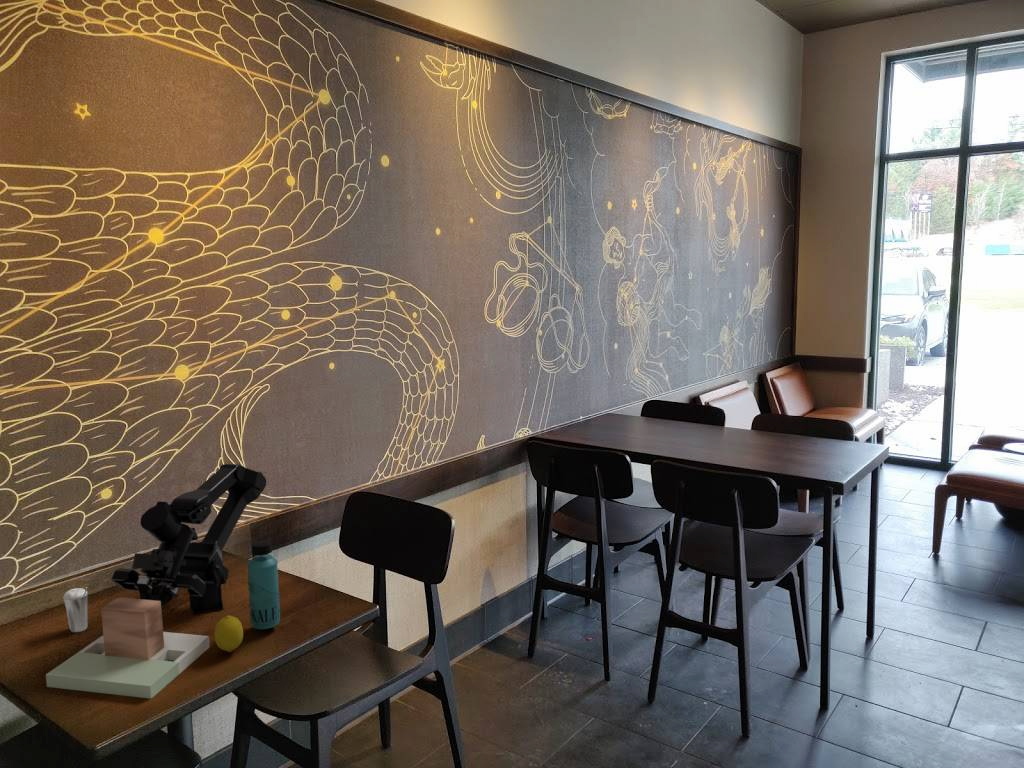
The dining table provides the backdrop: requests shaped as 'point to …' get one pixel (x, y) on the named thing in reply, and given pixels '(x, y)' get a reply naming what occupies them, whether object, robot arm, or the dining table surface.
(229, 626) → the lemon
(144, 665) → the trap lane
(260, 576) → the beverage bottle
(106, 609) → the terracotta block
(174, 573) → the robot arm
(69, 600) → the milkshake
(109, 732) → the dining table surface
